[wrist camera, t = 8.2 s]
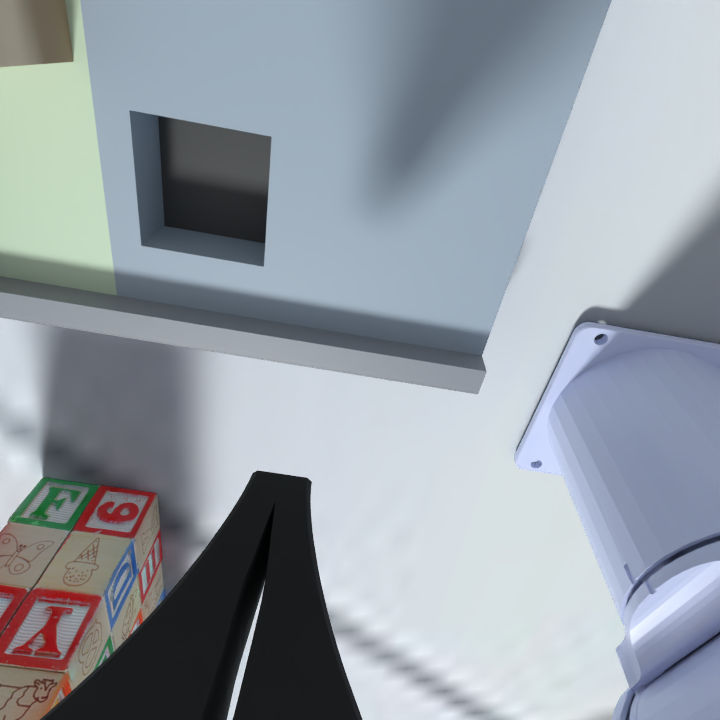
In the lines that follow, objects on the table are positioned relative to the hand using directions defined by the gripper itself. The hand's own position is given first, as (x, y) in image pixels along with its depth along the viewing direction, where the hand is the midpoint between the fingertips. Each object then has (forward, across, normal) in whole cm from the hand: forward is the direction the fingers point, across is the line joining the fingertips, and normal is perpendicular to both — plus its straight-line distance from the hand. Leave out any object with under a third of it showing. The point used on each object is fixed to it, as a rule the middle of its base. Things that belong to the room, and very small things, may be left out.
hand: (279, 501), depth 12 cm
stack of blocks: (+10, +11, +23) cm, 27 cm away
